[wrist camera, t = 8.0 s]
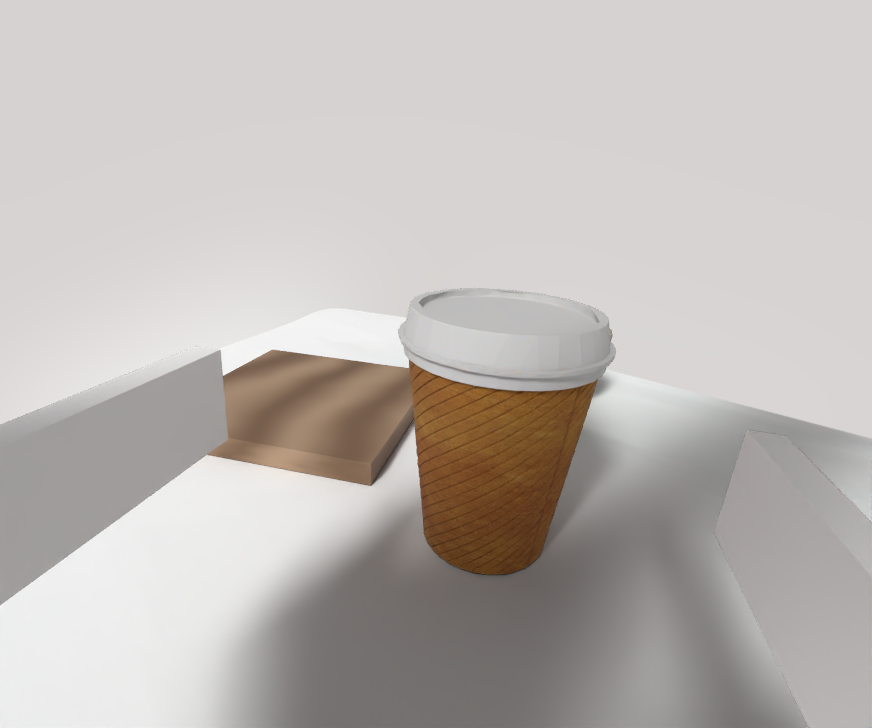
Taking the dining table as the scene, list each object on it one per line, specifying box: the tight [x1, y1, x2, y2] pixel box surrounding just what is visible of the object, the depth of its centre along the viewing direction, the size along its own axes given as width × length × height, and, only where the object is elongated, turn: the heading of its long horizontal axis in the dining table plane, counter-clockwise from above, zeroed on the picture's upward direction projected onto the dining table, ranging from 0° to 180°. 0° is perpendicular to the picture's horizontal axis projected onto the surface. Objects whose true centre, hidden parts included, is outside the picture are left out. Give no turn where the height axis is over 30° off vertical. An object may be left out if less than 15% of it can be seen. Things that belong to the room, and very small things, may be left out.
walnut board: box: [207, 350, 414, 486], centre depth 37 cm, size 16×16×2 cm
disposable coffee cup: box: [398, 289, 616, 575], centre depth 23 cm, size 10×10×12 cm
